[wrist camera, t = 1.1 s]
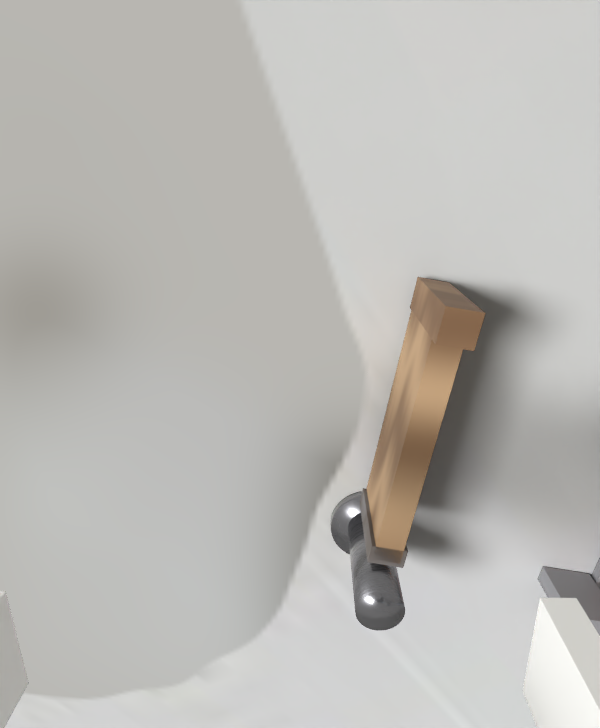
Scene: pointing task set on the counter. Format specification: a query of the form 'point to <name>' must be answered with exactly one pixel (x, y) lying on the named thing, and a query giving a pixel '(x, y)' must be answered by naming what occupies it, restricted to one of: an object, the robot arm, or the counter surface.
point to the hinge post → (367, 570)
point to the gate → (415, 414)
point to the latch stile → (575, 589)
